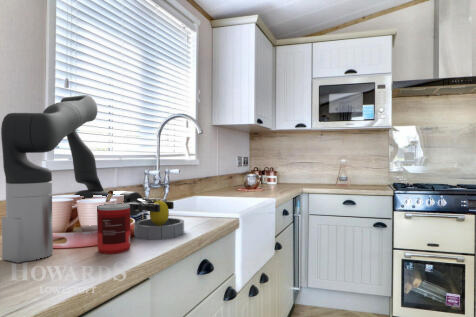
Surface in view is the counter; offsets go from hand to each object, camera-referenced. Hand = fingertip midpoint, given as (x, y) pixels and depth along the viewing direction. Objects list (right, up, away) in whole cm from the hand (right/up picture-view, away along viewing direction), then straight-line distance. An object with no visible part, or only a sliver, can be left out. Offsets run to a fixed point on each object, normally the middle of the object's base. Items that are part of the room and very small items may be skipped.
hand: (166, 206), depth 103 cm
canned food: (-9, -9, -16) cm, 21 cm away
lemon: (-2, -6, +1) cm, 7 cm away
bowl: (-2, -8, +1) cm, 9 cm away
